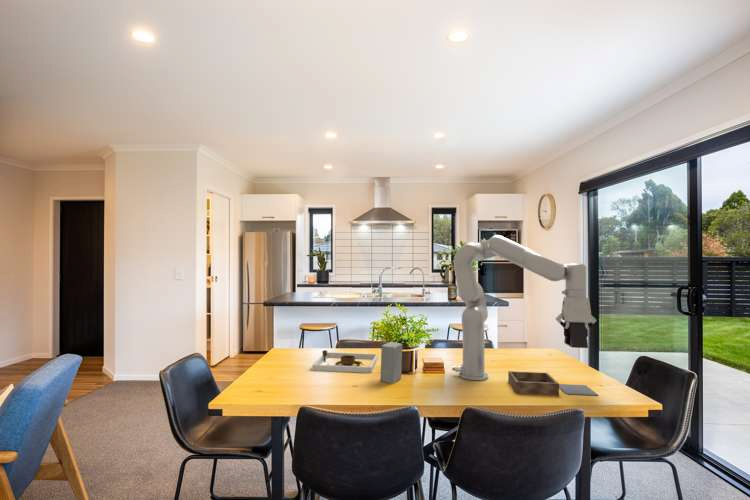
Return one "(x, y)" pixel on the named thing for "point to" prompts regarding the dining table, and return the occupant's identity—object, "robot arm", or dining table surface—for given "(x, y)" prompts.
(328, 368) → the serving tray rim
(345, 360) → the place setting
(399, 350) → the skincare box
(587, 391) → the mat
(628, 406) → the dining table surface
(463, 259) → the robot arm
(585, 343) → the door stopper
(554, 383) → the walnut crate
